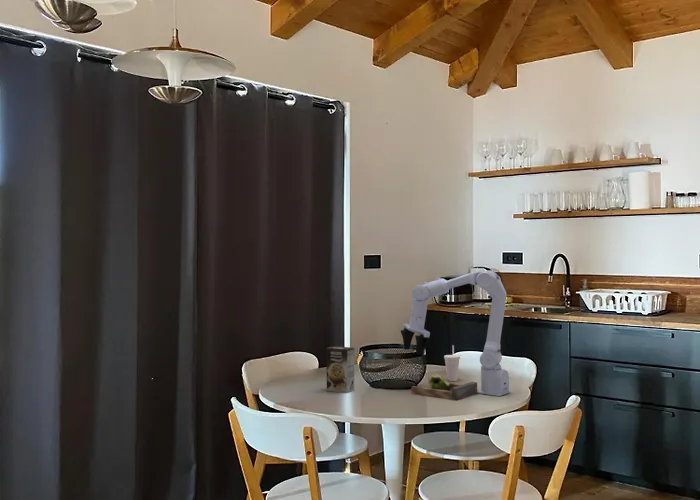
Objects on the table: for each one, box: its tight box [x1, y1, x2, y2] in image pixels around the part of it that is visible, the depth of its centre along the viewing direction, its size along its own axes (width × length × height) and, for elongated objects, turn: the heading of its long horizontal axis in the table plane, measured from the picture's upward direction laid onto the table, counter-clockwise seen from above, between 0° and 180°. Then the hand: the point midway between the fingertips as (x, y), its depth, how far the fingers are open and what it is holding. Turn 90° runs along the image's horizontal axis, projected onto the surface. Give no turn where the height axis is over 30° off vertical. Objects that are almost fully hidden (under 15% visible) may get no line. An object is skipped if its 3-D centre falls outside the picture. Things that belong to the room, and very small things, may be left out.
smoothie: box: [443, 344, 461, 382], centre depth 272 cm, size 6×6×14 cm
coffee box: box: [325, 345, 356, 394], centre depth 255 cm, size 9×6×16 cm
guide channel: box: [411, 381, 478, 401], centre depth 247 cm, size 19×14×4 cm
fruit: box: [427, 374, 451, 391], centre depth 249 cm, size 9×9×8 cm
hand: (412, 351), depth 258 cm, fingers open, 7 cm apart
